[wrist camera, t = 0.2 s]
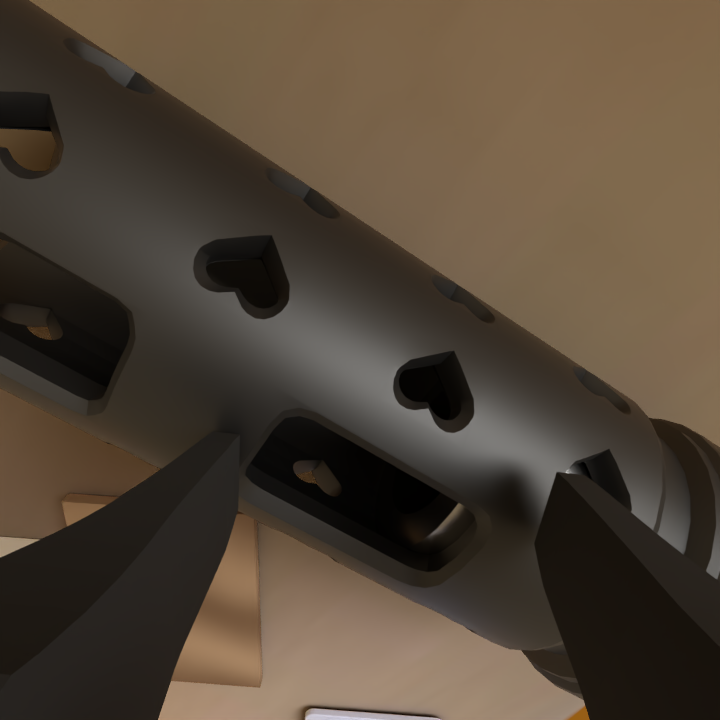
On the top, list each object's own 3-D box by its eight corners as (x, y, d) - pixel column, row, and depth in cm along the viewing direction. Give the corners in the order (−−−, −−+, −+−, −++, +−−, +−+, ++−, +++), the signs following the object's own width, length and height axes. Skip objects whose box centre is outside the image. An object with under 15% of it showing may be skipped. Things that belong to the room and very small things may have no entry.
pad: (262, 677, 29) (260, 687, 29) (104, 665, 29) (99, 675, 29) (256, 506, 25) (253, 515, 24) (68, 493, 25) (61, 501, 24)
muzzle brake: (124, 3, 16) (-240, -85, 7) (750, 432, 21) (990, 692, 12) (47, 248, 21) (-242, 382, 12) (582, 557, 26) (670, 817, 17)
